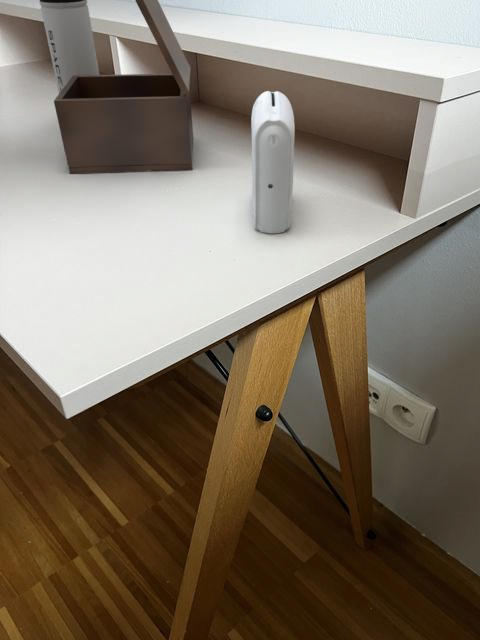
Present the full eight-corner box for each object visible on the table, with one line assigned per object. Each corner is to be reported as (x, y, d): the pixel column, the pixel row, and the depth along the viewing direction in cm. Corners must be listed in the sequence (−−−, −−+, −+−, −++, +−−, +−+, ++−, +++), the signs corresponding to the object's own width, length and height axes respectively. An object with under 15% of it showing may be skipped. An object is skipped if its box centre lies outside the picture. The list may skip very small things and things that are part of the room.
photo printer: (293, 234, 58) (298, 110, 50) (251, 234, 58) (250, 109, 50) (289, 194, 66) (292, 81, 58) (252, 194, 66) (251, 81, 58)
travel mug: (106, 118, 90) (81, -32, 77) (108, 130, 85) (82, -28, 72) (66, 121, 88) (34, -31, 76) (66, 134, 83) (31, -27, 71)
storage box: (69, 173, 71) (53, 100, 66) (85, 141, 81) (72, 75, 75) (192, 170, 72) (186, 97, 67) (193, 138, 82) (188, 73, 76)
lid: (104, -61, 57) (154, -90, 56) (118, -66, 66) (161, -91, 65) (183, 95, 66) (226, 72, 65) (185, 70, 76) (223, 51, 75)
